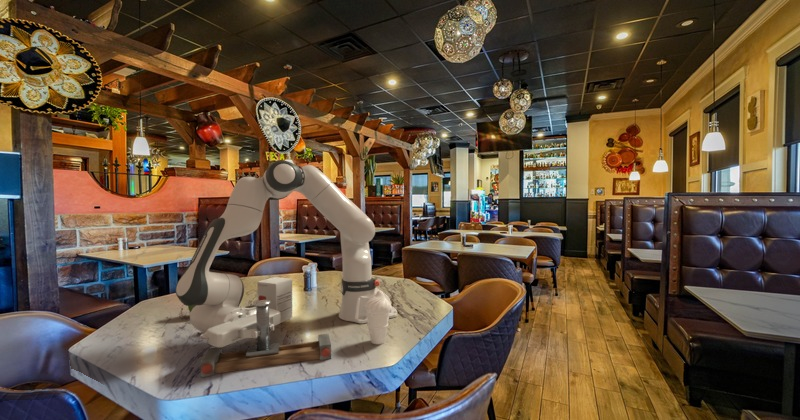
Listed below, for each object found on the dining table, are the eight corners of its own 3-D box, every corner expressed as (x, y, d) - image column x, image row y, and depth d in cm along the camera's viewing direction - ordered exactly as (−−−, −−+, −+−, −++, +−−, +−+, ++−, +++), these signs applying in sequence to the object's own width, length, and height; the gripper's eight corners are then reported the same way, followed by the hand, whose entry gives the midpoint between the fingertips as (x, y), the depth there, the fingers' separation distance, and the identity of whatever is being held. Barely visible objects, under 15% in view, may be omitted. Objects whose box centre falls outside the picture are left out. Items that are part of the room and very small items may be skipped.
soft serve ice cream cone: (370, 349, 97) (370, 295, 96) (360, 339, 104) (360, 289, 104) (396, 343, 100) (395, 292, 100) (384, 334, 108) (384, 286, 108)
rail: (328, 346, 99) (328, 333, 99) (331, 359, 91) (331, 344, 91) (209, 362, 89) (208, 347, 89) (200, 378, 81) (199, 362, 81)
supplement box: (256, 322, 120) (256, 281, 120) (274, 314, 128) (274, 276, 128) (276, 325, 117) (275, 283, 116) (293, 317, 125) (292, 278, 125)
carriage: (279, 349, 93) (278, 298, 93) (278, 356, 89) (277, 302, 89) (248, 353, 90) (247, 301, 90) (246, 360, 87) (245, 305, 86)
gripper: (196, 324, 86) (229, 333, 80) (261, 303, 104) (293, 309, 98) (196, 347, 87) (230, 358, 80) (261, 322, 105) (293, 330, 98)
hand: (265, 331), depth 89 cm, fingers closed on carriage, 3 cm apart
